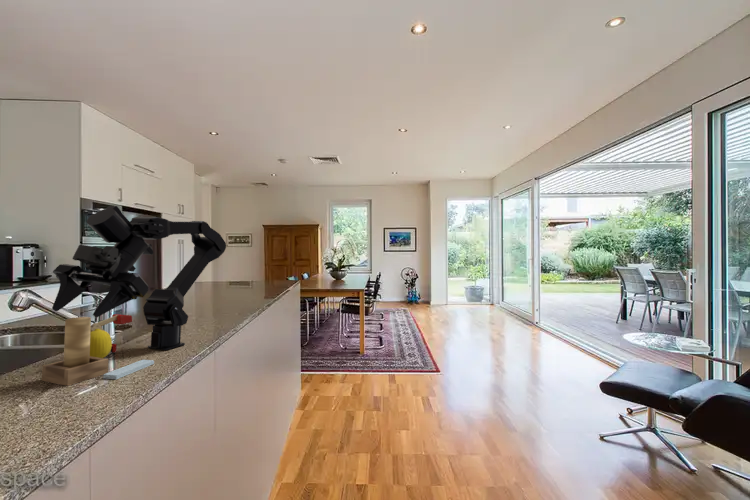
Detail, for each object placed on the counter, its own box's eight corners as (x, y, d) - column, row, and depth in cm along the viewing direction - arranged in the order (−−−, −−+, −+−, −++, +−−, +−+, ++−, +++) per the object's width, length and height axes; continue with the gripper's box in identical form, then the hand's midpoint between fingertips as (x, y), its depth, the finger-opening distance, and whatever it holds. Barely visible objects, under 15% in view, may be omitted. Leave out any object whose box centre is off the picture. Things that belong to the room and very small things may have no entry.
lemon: (93, 367, 75) (95, 331, 75) (73, 365, 76) (75, 330, 77) (117, 360, 81) (118, 327, 81) (98, 358, 82) (99, 325, 82)
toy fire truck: (61, 363, 78) (63, 321, 78) (122, 348, 91) (124, 312, 91) (71, 365, 77) (73, 322, 77) (131, 349, 90) (132, 313, 90)
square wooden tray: (83, 368, 75) (84, 355, 75) (108, 373, 72) (108, 359, 72) (41, 380, 67) (42, 365, 67) (67, 385, 65) (68, 370, 65)
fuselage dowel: (87, 367, 73) (88, 316, 73) (90, 371, 70) (92, 318, 70) (61, 371, 70) (63, 318, 70) (64, 376, 67) (66, 321, 67)
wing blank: (142, 363, 79) (142, 359, 79) (153, 363, 79) (154, 360, 79) (103, 378, 69) (103, 374, 69) (116, 379, 69) (116, 375, 69)
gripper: (64, 227, 74) (2, 284, 64) (142, 237, 73) (91, 296, 62) (94, 260, 83) (44, 315, 72) (165, 269, 81) (124, 326, 71)
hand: (74, 313), depth 69 cm, fingers open, 9 cm apart
